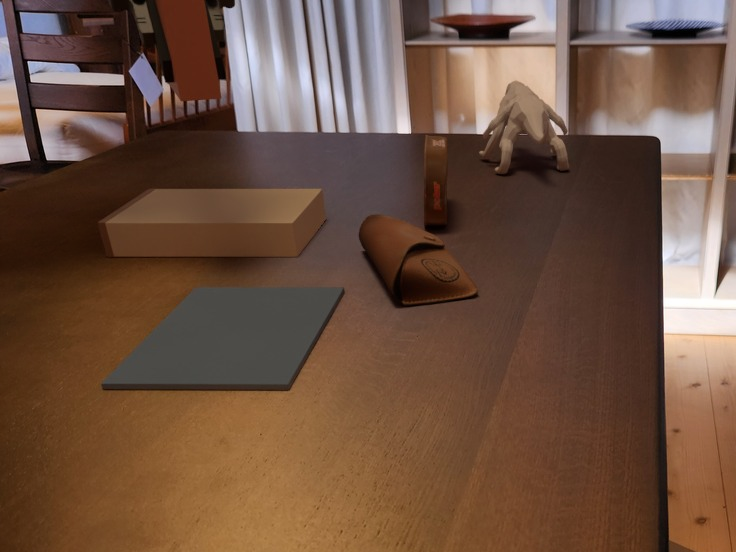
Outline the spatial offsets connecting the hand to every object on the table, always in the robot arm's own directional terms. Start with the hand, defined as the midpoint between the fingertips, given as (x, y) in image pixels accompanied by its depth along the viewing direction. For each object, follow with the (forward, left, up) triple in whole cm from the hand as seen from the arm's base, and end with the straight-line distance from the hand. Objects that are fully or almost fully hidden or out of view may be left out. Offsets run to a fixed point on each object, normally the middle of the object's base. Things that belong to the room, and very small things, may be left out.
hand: (193, 69), depth 78 cm
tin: (+19, +19, -18) cm, 32 cm away
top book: (-2, +3, -2) cm, 4 cm away
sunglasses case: (+19, -1, -18) cm, 26 cm away
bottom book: (-4, +11, -18) cm, 22 cm away
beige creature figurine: (+29, +44, -18) cm, 56 cm away
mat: (+6, -17, -18) cm, 25 cm away
